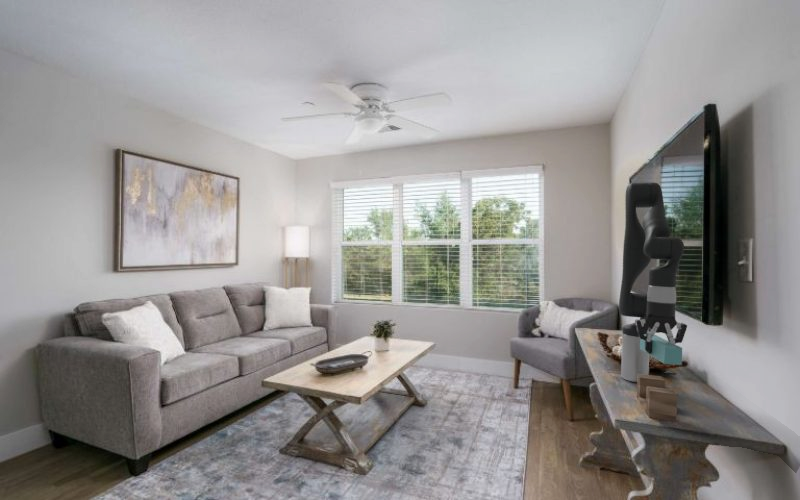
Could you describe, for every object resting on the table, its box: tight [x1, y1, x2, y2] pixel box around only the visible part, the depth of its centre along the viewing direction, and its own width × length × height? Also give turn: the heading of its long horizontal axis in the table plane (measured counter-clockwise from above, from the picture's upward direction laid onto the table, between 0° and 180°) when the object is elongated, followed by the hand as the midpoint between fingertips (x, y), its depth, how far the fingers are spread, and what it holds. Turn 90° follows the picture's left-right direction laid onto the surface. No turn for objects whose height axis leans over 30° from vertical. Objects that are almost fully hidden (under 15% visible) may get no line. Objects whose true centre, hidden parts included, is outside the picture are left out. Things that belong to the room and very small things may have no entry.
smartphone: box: [663, 369, 677, 376], centre depth 167 cm, size 7×1×15 cm
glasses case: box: [640, 334, 683, 366], centre depth 124 cm, size 17×5×5 cm, turn 170°
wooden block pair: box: [636, 374, 678, 422], centre depth 124 cm, size 17×7×8 cm, turn 159°
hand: (659, 353), depth 124 cm, fingers closed on glasses case, 5 cm apart
